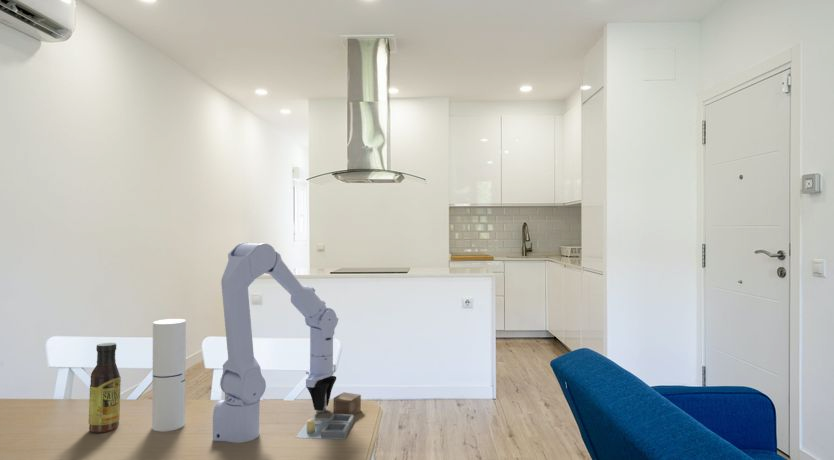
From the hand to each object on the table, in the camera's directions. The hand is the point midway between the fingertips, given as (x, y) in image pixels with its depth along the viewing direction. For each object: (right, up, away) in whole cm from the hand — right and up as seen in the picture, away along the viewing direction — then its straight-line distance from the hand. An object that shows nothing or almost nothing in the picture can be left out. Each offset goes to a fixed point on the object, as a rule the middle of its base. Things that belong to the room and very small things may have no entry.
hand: (321, 407), depth 132 cm
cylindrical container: (-35, -2, -8) cm, 36 cm away
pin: (0, -2, 0) cm, 2 cm away
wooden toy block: (+7, -2, 0) cm, 7 cm away
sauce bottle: (-49, -2, -10) cm, 50 cm away
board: (+3, -2, -11) cm, 12 cm away
